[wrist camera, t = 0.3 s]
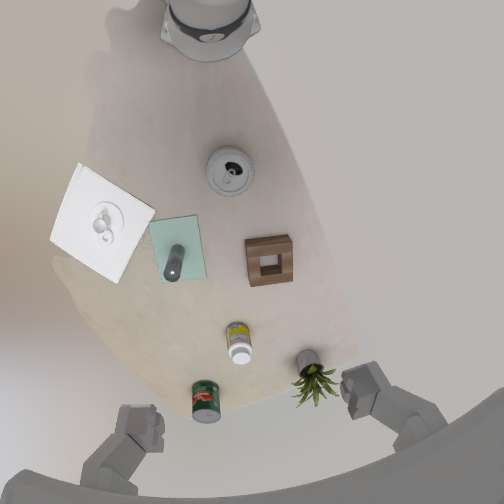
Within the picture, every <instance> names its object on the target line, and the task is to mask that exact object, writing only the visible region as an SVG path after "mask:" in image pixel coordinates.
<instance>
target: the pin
mask: <svg viewBox="0 0 504 504" xmlns="http://www.w3.org/2000/svg"><path fill="white" fill-rule="evenodd" d="M184 255H185V249H184V247H183V246H182V245H179V244H176V245H174V246H172V248H171V251H170V254H169V257H168V260H167V263H166V266H165V269H164V273H163V275H164V278H165V279H166V280H167V281H169V282H176V281H177V280H178V279H179V278H180V274H181V269H182V264H183V259H184Z"/></svg>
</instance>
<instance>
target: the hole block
mask: <svg viewBox="0 0 504 504" xmlns="http://www.w3.org/2000/svg"><path fill="white" fill-rule="evenodd" d="M245 247H246V257H247V268H248V278H249V282H250V286H251V287H255V286H262V285H270V284H277V283H284V282H291V281H293V245H292V241H291V239H290V238H289V236H288V235H280V236H272V237H263V238H255V239H247V240H245ZM275 254H278V265H272V266H264V267H260V259H259V256H267V255H275Z"/></svg>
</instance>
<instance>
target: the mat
mask: <svg viewBox="0 0 504 504" xmlns="http://www.w3.org/2000/svg"><path fill="white" fill-rule="evenodd" d="M148 224H149V229H150V234H151V238H152V243H153V247H154V252H155V256H156V260H157V264H158V268H159V272H160V276H161V280H162V283H166V282H169V281H167V280H166V279H165V278H164V275H163V273H164V269H165V266H166V263H167V260H168V257H169V254H170V251H171V248H172V246H174V245H176V244H179V245H182V246H183V247H184V249H185V255H184V259H183V264H182V269H181V274H180V278H179V279H178V280H177V281H183V280H192V279H200V278H207V276H206V270H205V264H204V258H203V252H202V246H201V240H200V233H199V227H198V220H197V215H192V216H185V217H178V218H171V219H164V220H157V221H151V222H148Z"/></svg>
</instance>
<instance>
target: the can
mask: <svg viewBox="0 0 504 504" xmlns="http://www.w3.org/2000/svg"><path fill="white" fill-rule="evenodd" d="M206 178H207V181H208V184H209V185H210V187H211V188H212V190H214V191H215V192H216V193H218V194H220V195H223V196H232V197H233V196H237V195H240V194H242V193H243V192H245V191H246V190H247V189H248V188H249V187H250V185H251V184H252V181H253V179H254V167H253V163H252V162H251V160H250V159H249V157H248V156H247V155H245V154H244V153H243V152H241V151H240V150H239V149H237V148H234V147H222V148H219V149H217V150H216V151H214V152H213V154H212V155H211V156H210V158H209V161H208V164H207V168H206Z"/></svg>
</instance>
